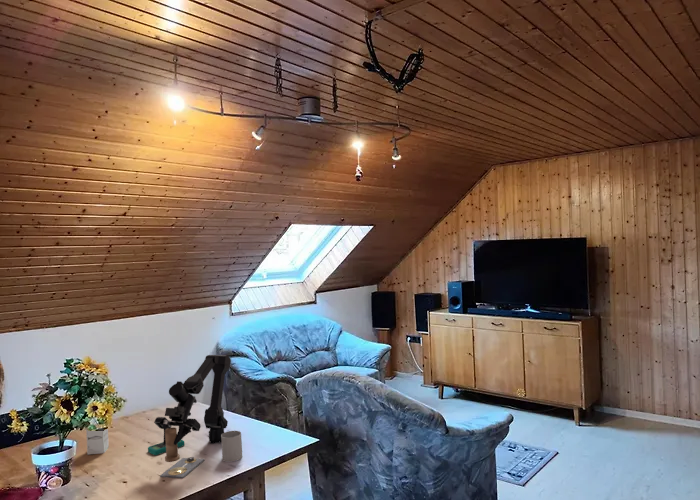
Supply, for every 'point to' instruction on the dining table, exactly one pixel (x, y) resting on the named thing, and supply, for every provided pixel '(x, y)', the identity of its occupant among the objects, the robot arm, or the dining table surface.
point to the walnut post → (171, 445)
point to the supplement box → (97, 441)
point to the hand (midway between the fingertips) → (169, 444)
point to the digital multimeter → (162, 447)
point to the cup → (231, 446)
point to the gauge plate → (182, 468)
